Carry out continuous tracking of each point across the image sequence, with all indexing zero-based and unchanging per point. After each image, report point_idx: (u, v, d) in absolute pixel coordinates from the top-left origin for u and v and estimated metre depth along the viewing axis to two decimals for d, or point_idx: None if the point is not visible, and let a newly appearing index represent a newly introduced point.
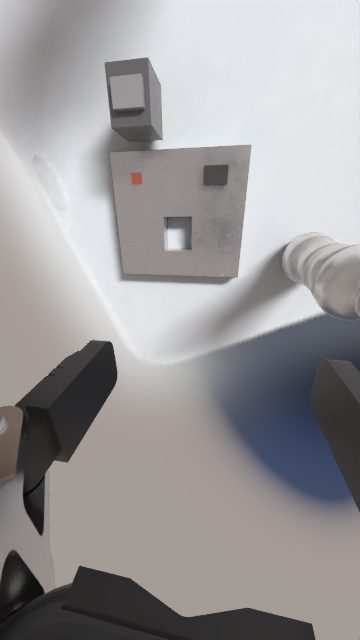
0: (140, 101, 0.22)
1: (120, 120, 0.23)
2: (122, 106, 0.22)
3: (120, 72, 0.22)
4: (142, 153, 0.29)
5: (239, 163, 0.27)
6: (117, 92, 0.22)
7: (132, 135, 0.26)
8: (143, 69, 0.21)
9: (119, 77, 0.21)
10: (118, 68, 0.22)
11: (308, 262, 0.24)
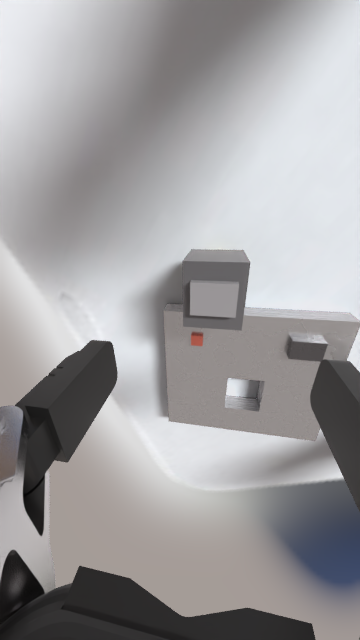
0: (232, 312, 0.15)
1: (197, 321, 0.17)
2: (204, 313, 0.16)
3: (204, 273, 0.15)
4: None
5: (341, 338, 0.21)
6: (199, 299, 0.15)
7: None
8: (240, 274, 0.15)
9: (205, 284, 0.15)
10: (202, 269, 0.15)
11: None
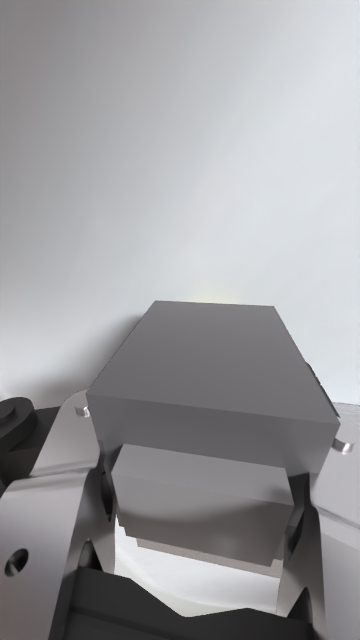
0: (261, 556, 0.05)
1: None
2: (169, 541, 0.05)
3: (165, 434, 0.04)
4: None
5: None
6: (150, 514, 0.05)
7: None
8: (295, 450, 0.04)
9: (164, 486, 0.04)
10: (156, 422, 0.04)
11: None
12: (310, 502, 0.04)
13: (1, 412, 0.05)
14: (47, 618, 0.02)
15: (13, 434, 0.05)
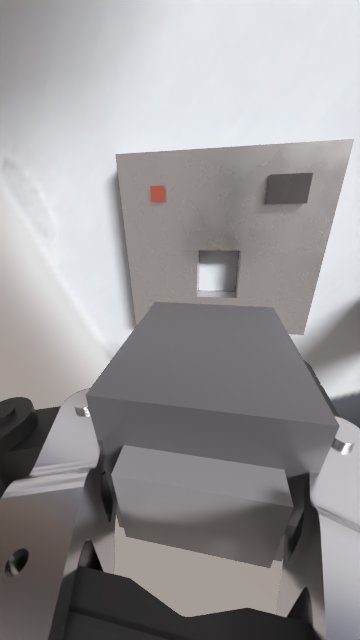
0: (261, 557, 0.05)
1: None
2: (168, 542, 0.05)
3: (164, 435, 0.04)
4: (168, 155, 0.18)
5: (329, 169, 0.17)
6: (150, 515, 0.05)
7: None
8: (295, 452, 0.04)
9: (164, 488, 0.04)
10: (156, 423, 0.04)
11: None
12: (310, 502, 0.04)
13: (1, 412, 0.05)
14: (47, 618, 0.02)
15: (13, 434, 0.05)
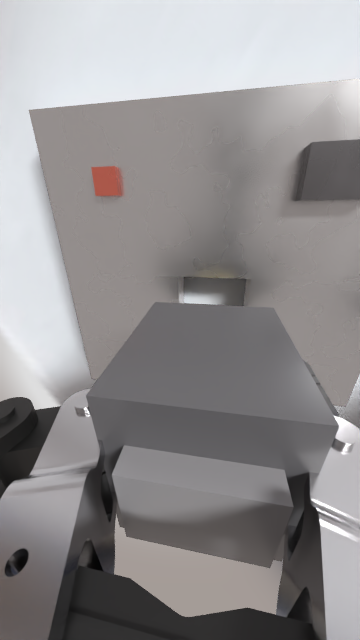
0: (261, 557, 0.05)
1: None
2: (169, 542, 0.05)
3: (165, 435, 0.04)
4: (120, 110, 0.10)
5: None
6: (150, 515, 0.05)
7: None
8: (295, 452, 0.04)
9: (164, 488, 0.04)
10: (157, 423, 0.04)
11: None
12: (310, 502, 0.04)
13: (1, 412, 0.05)
14: (47, 618, 0.02)
15: (13, 434, 0.05)
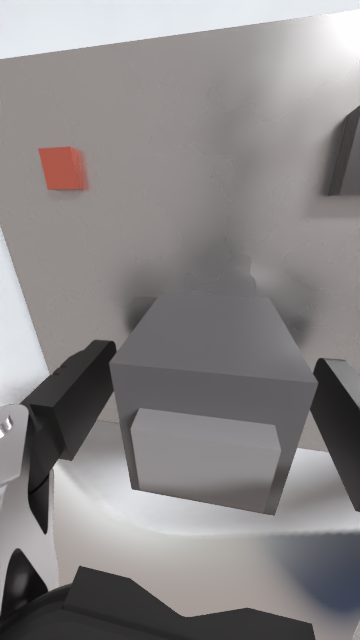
0: (255, 502, 0.05)
1: None
2: (176, 493, 0.06)
3: (174, 397, 0.05)
4: (74, 63, 0.07)
5: None
6: (161, 466, 0.05)
7: None
8: (283, 408, 0.05)
9: (175, 438, 0.05)
10: (168, 386, 0.05)
11: None
12: None
13: None
14: None
15: None
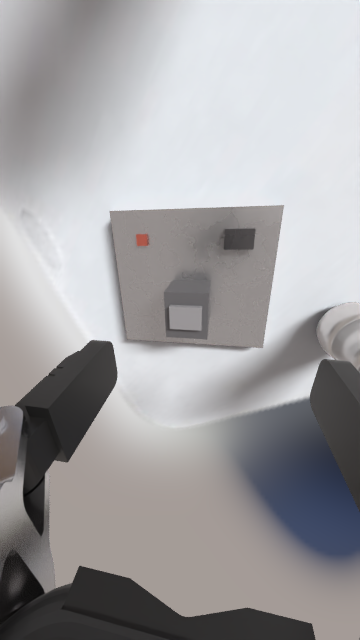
0: (199, 326, 0.22)
1: (175, 332, 0.23)
2: (179, 327, 0.22)
3: (178, 300, 0.22)
4: (149, 213, 0.24)
5: (268, 225, 0.22)
6: (175, 318, 0.22)
7: None
8: (203, 300, 0.21)
9: (179, 308, 0.22)
10: (177, 297, 0.22)
11: None
12: None
13: None
14: None
15: None
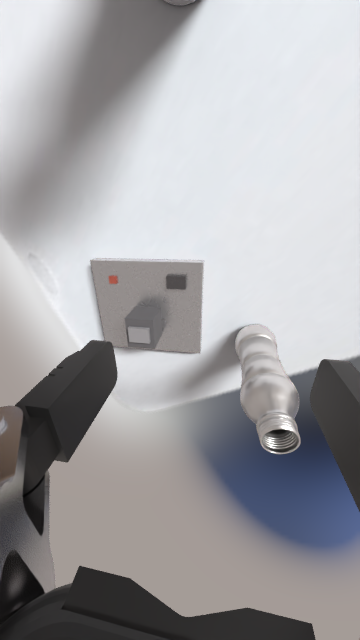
0: (147, 341, 0.34)
1: (134, 344, 0.35)
2: (135, 341, 0.34)
3: (134, 324, 0.33)
4: (117, 262, 0.35)
5: (195, 274, 0.34)
6: (132, 335, 0.34)
7: None
8: (149, 324, 0.33)
9: (134, 329, 0.33)
10: (133, 322, 0.33)
11: (243, 366, 0.30)
12: None
13: None
14: None
15: None
